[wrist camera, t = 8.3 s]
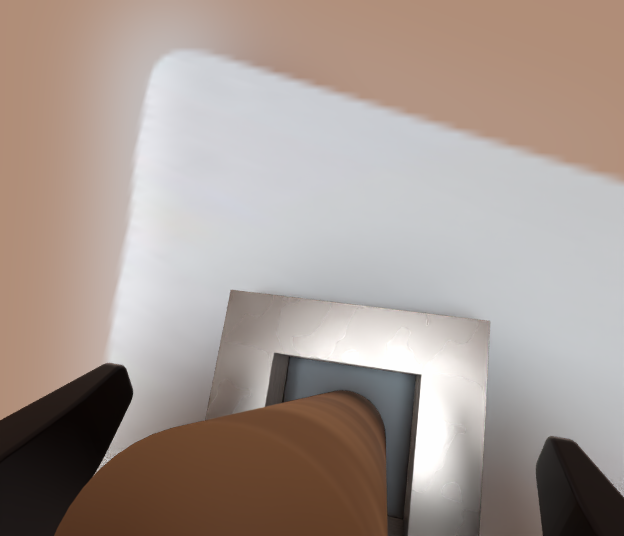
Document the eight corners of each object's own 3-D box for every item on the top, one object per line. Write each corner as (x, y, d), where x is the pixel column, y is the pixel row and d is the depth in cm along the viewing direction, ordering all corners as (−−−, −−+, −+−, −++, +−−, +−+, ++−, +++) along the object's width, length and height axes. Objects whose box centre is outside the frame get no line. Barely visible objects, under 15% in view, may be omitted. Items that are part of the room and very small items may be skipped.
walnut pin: (380, 488, 15) (365, 953, 3) (295, 471, 16) (-18, 792, 4) (389, 397, 16) (409, 458, 4) (307, 384, 17) (85, 397, 4)
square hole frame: (458, 598, 14) (473, 643, 12) (207, 537, 16) (176, 565, 13) (474, 329, 16) (490, 321, 14) (251, 301, 18) (230, 289, 16)
